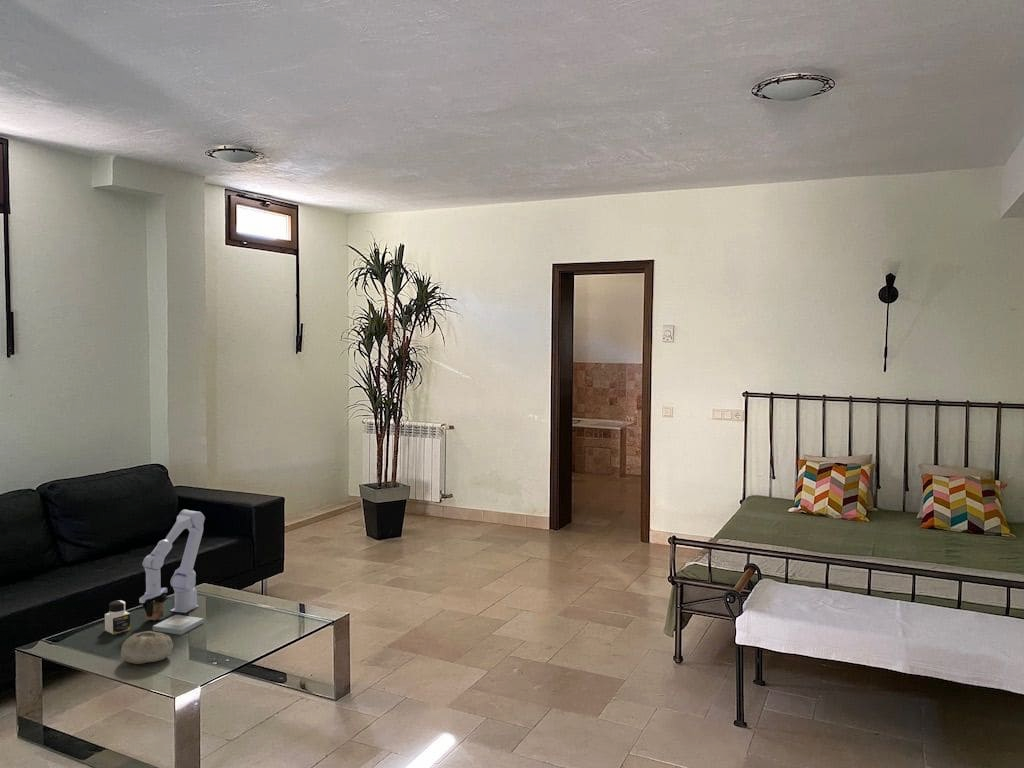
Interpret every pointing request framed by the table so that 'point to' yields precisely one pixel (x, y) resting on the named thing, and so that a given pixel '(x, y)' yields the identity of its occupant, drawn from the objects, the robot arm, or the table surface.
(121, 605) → the medicine bottle
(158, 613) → the walnut block
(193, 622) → the base board
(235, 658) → the table surface
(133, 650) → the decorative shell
